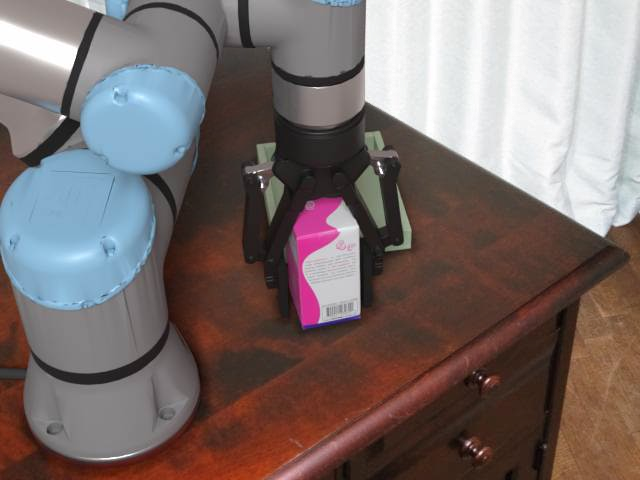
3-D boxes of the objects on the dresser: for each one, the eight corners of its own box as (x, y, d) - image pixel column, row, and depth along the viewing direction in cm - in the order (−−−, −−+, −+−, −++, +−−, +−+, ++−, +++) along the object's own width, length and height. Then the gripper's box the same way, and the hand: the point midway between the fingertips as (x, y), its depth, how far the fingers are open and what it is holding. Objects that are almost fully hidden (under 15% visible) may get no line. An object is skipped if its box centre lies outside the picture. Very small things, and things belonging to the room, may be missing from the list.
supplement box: (345, 277, 112) (344, 186, 104) (361, 319, 108) (362, 228, 100) (287, 288, 111) (282, 197, 103) (301, 331, 107) (297, 240, 99)
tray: (276, 264, 114) (275, 246, 112) (257, 162, 126) (256, 144, 124) (411, 248, 115) (411, 229, 113) (379, 148, 127) (379, 130, 126)
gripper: (429, 66, 98) (419, 263, 113) (193, 91, 96) (215, 287, 111) (449, 118, 92) (436, 317, 108) (200, 145, 90) (222, 344, 106)
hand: (324, 302), depth 109 cm, fingers open, 7 cm apart
